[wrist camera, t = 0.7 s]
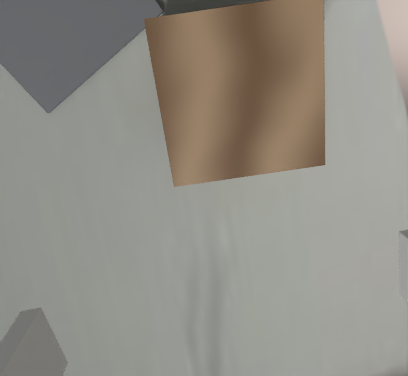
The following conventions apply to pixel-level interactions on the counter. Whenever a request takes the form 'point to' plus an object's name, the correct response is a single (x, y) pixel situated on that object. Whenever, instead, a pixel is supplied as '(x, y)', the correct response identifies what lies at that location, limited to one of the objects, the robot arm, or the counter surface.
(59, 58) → the mat
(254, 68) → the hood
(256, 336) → the counter surface
